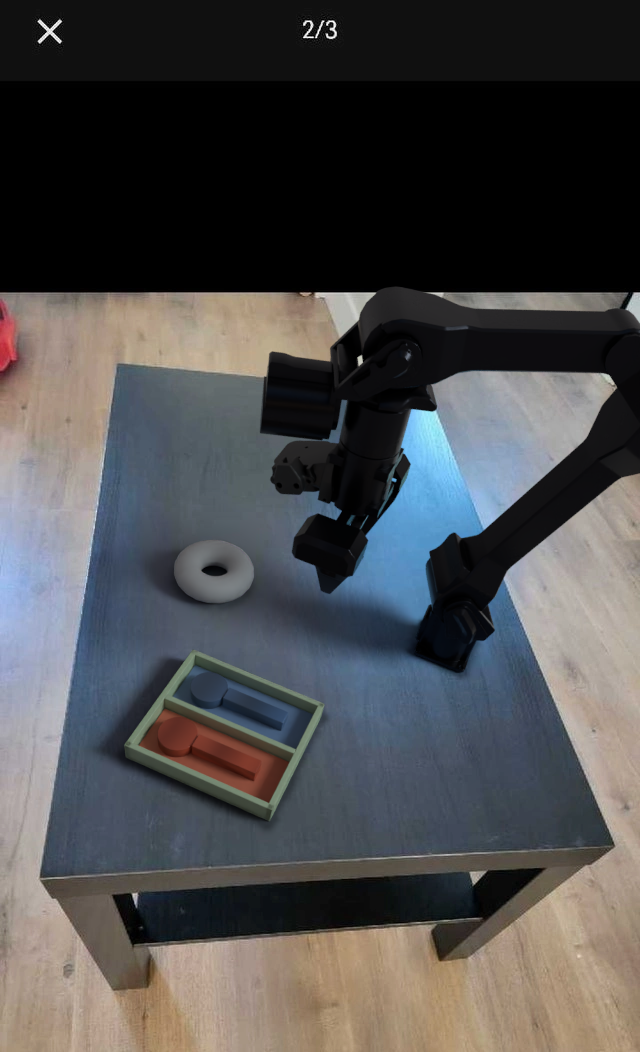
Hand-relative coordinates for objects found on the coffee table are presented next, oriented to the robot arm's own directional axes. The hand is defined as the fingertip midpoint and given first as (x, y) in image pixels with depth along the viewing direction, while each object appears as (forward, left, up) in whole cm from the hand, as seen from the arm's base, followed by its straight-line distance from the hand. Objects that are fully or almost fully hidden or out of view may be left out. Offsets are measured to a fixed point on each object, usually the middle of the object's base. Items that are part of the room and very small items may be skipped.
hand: (340, 565), depth 75 cm
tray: (+4, +18, -12) cm, 22 cm away
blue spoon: (+4, +15, -11) cm, 19 cm away
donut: (+16, -2, -12) cm, 20 cm away
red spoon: (+4, +21, -11) cm, 24 cm away
